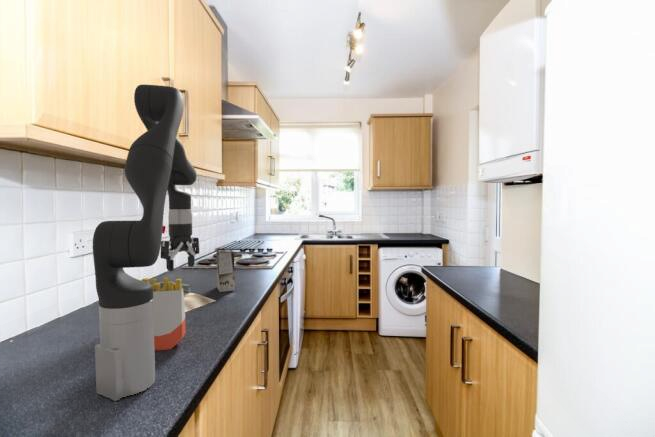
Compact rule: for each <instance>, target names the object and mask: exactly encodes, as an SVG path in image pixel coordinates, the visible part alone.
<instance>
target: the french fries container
mask: <svg viewBox="0 0 655 437" xmlns="http://www.w3.org/2000/svg"><path fill="white" fill-rule="evenodd" d="M162 278H163V277H162ZM150 280H151V282H150ZM141 281H144V282H147V283H149V284H151V285H152V287H153V307H154V347H155V351H166V350H172V349H173V348H174V347H175V346H176V345H177V344H178V343H180V341H182V339H183V338H184V336H185V334H186V312H185V306H184V293H183V288H182V285H181V284H182V278H176V279H175V283H173V282H174V281H169V277H164V278H163V279H162V282H163V289H160V282H157V283H156V278H153V277H152V278H151V279H150V278H149V277H144V278H141ZM168 281H169V283H168Z"/></svg>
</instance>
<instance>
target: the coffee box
mask: <svg viewBox="0 0 655 437" xmlns="http://www.w3.org/2000/svg"><path fill="white" fill-rule="evenodd" d="M235 282H236V281H235V252H234V250H232V248H231V249H218V250H216V288H217V290H218V292H219V293H222V292H223V293H224V292H231V291H232V292H233V291H235V286H236V285H235V284H236V283H235Z"/></svg>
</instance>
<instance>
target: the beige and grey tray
mask: <svg viewBox="0 0 655 437" xmlns="http://www.w3.org/2000/svg"><path fill="white" fill-rule="evenodd" d="M169 282H170V281H169V280H168V283H169ZM159 283H160V289H163V281H160V282H159ZM173 283H176V281H175V282H174V281H173ZM181 285H182V288H183V293H184V306H185V313H187V312H189V311H192V310H196V309H197V308H200V307H203V306H206V305H208V304H210V303H213V302H216V301H217V300H215V299H213V298H210V297H207V296H204V295H202V294H198V293H193V292H191V291H192V290H191V289H192V288H191V284H185V283H181Z"/></svg>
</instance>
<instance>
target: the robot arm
mask: <svg viewBox="0 0 655 437" xmlns="http://www.w3.org/2000/svg"><path fill="white" fill-rule="evenodd" d="M133 95H134V97H133V100H134V101H133V102H134V106H135V110H136V113H137V115H138V117H139V119H140V120H141V122H142V124H143V125H144V127H145V129H146V130H147V131H145V132H144V133H142V134H141V135H139V136H138V137H137V138H136V139H135V140H134V141H133V142H132V144H131V145H130V147H129V149H128V151H127V152H128V153H127V156H126V161H125V163H124V164H125V165H124V175H125V178H126V180H127V182H128V184H129V186H130V187H131V188H132V190H133V191H134V194H135V195H136V196H137V198H138V199H139V201H140V203H141V206H142V209H143V212H142V213H143V214H142V217H141V219H140V220H106V221H104V220H103V221H102V222H100V223H99V224H98V225H97V226H96V228H95V230H94V233H93V237H92V257H93V264H94V265H93V266H94V275H95V289H96V293H97V297H98V315H99V316H98V317H99V319H98V320H99V321H98V322H99V343H97V344H96V345H95V346H94V353H95V355H94V357H95V358H94V359H95V382H96V388H95V390H96V394H98V395H101V396H102V395H103V397H105V398H107V397H108V398H107V399H109V398H110V400H112V401H114V402H116V401H117V400H118V401H120V400H121V399H120V398H122V397H125V398H127V397H126V396H129V395H133V396H135V395H134V394H136V395H138V394H140V393H139V392H141V393H143V392H144V391H147V390H148V389H150V387H152V386H153V385H154V383H155V382H156V356H155V355H156V354H155V351H156V350H155V347H154V307H153V287H152V285H151V283H150V282H149V283H147V282H144V281H142V279H138V278H135V277H133V276H131V275H130V274H128V273H127V272H126V271H125V270H124V268H125V269H126V268H127V269H128V268H145V267H146V268H147V267H151V266H153V265H154V264H156V262H157V260H158V259H159V257H160V258H161V259H162V260H163V259H164V260H165V262H166V263H165V265H166V270H167V271H168V272H174V271H175V265H174V262H175V260H174V259H175V257H176V255H177V254H179V253H182V252H185V253H186V254H187V255H188V256H187V267H190V268H193V267H195V259H196V258H195V257H196V255H198V254H200V241H199V240H200V239H199V237H195V236H193V214H192V196H191V194H190V193H189V192H185V191H180V190H179V189H177V187H176V186H191V185H193V184H195V182H196V181H197V177H198V175H197V171H196V169H195V167H194V165H193V164H192V162H190V161H189V159H188V158H187V155H186V152H185V151H186V150H185V147H184V145H183V143H182V141H181V140H180V139H179V138H178V137H177V136H178V132H179V129H180V125H181V121H182V120H183V119H182V118H183V116H184V115H183V114H184V108H185V106H184V105H185V104H184V103H185V102H184V98H183V94H182V92H181V91H180V90H179V89H178V88H176V87H173V86H169V85H168V86H167V85H157V84H139V85H137V86H136V88H135V90H134V94H133ZM167 194H168V217H167V219H168V220H167V221H168V236H169V240H162V236H163V225H164V215H165V214H164V213H165V205H166V198H167ZM192 236H193V237H192ZM147 388H148V389H147ZM142 391H143V392H142ZM137 393H138V394H137ZM129 397H130V396H129ZM122 399H123V398H122Z"/></svg>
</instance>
